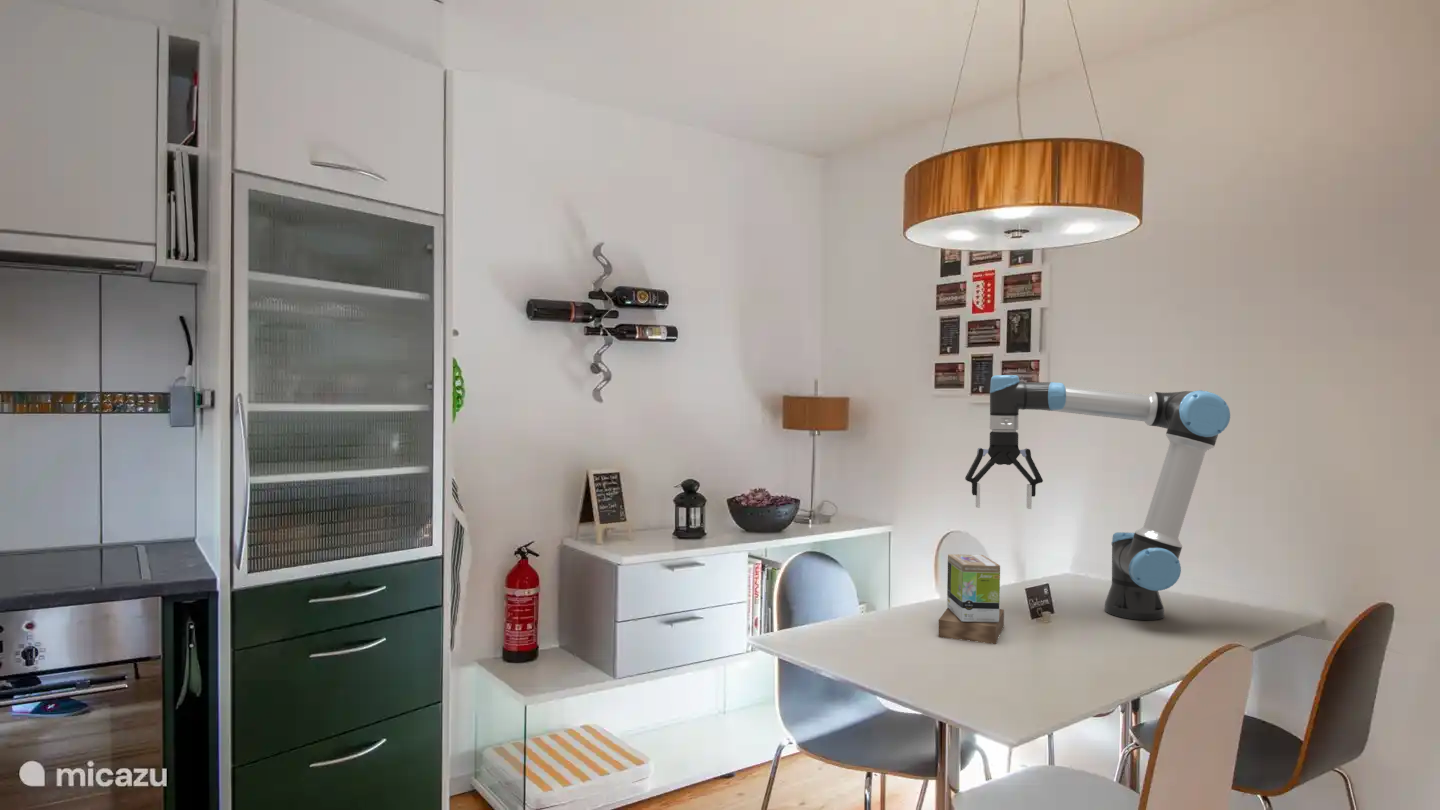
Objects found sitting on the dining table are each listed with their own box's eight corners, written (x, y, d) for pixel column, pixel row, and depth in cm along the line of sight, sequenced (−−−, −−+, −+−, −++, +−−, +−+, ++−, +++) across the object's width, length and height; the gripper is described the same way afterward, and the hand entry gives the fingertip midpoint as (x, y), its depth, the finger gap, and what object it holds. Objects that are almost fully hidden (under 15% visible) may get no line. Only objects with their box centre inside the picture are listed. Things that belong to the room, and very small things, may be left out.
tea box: (1000, 623, 210) (1001, 564, 210) (960, 622, 210) (961, 564, 210) (983, 607, 225) (983, 553, 225) (946, 607, 226) (946, 552, 225)
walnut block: (1003, 628, 224) (1003, 609, 224) (995, 646, 207) (996, 626, 207) (950, 621, 230) (950, 603, 230) (938, 639, 213) (938, 619, 213)
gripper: (959, 431, 228) (958, 508, 229) (1054, 432, 224) (1053, 510, 225) (955, 429, 236) (955, 504, 236) (1048, 430, 232) (1047, 507, 232)
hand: (1003, 507), depth 230 cm, fingers open, 13 cm apart
